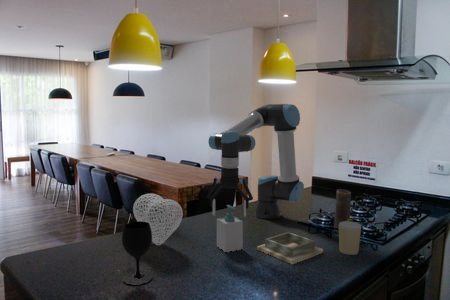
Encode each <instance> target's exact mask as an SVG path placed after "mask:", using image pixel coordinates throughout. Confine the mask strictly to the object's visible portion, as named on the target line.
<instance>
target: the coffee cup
mask: <svg viewBox="0 0 450 300" xmlns="http://www.w3.org/2000/svg"><path fill="white" fill-rule="evenodd" d="M338 226H339V234H338V243H339V246H338V247H339V252H340V253H342V254H345V255H350V256H351V255H353V256H354V255H358V253H359V249H360V242H361V233H362V230H361V229H362V225H361V224H360V223H359V222H356V221H355V222H354V221H350V222H349V221H344V222H340V223H339V225H338Z"/></svg>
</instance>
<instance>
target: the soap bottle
mask: <svg viewBox="0 0 450 300" xmlns="http://www.w3.org/2000/svg"><path fill="white" fill-rule="evenodd" d="M226 208H227V212H226V214H225V216H224V217H217V218H216V247H217V248H218V247H219V248H218V249H220V250H221V249H222V250H223V251H222V250H221V251H222V252H223V253H225V252H227V253H231V252H230V251H232V252H235V251H236V250H237V251H241V249H242V250H243V249H244V248H243V247H244V246H243V245H244V244H243V243H244V242H243V241H244V238H243V237H244V235H243V234H244V230H243V229H244V225H243V224H244V221H243V220H242V219H240V218H238V217H237V216H234V213H232V210H236V207H234V206H232V205H230V204H226Z"/></svg>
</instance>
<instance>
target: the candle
mask: <svg viewBox="0 0 450 300" xmlns="http://www.w3.org/2000/svg"><path fill="white" fill-rule="evenodd" d="M335 193H336V195H335V196H336V197H335V211H334V223H333V225H334V227H335V228H336V229H337V230H338V223H340V222H342V221H347V220H348V219H351V201H352V192H351V191H350V190H347V189H343V188H339V189H336V192H335ZM349 222H351V221H349Z"/></svg>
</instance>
